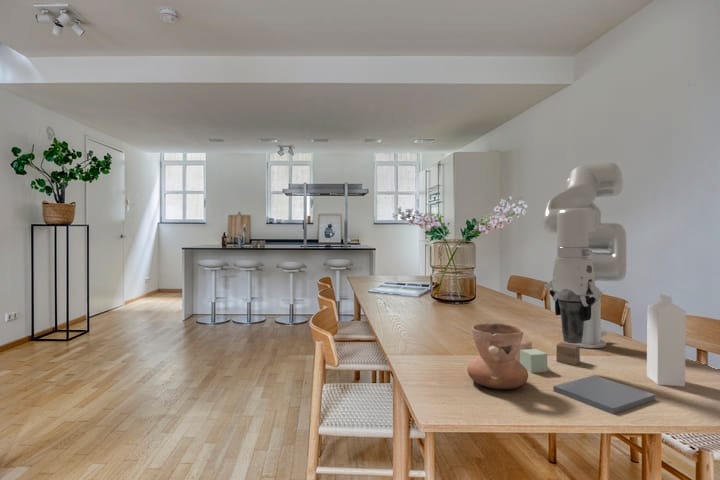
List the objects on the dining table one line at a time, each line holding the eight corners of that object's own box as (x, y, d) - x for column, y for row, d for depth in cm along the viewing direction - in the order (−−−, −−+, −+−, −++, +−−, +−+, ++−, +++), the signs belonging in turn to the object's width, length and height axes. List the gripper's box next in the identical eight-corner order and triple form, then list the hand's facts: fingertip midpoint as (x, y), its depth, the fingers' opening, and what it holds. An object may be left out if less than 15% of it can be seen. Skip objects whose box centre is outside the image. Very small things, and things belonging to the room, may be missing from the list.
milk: (657, 385, 99) (657, 297, 99) (646, 376, 105) (646, 293, 105) (685, 387, 98) (686, 297, 98) (673, 378, 104) (673, 294, 104)
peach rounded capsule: (519, 358, 121) (519, 338, 121) (536, 363, 116) (536, 343, 116) (505, 360, 119) (505, 340, 118) (522, 366, 113) (522, 345, 113)
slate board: (594, 379, 103) (594, 375, 103) (655, 399, 90) (655, 394, 90) (553, 390, 95) (553, 385, 95) (613, 414, 83) (613, 408, 83)
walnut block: (561, 358, 121) (561, 341, 121) (579, 361, 118) (579, 344, 118) (556, 362, 118) (556, 345, 118) (575, 365, 114) (575, 348, 114)
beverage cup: (552, 338, 114) (552, 268, 113) (576, 336, 114) (576, 267, 113) (567, 345, 106) (567, 271, 106) (593, 344, 107) (593, 270, 106)
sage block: (535, 366, 114) (535, 348, 114) (547, 371, 109) (547, 353, 109) (520, 367, 113) (520, 349, 113) (531, 373, 108) (531, 354, 108)
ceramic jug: (526, 401, 89) (526, 338, 89) (461, 390, 95) (461, 332, 95) (529, 376, 106) (529, 322, 106) (473, 368, 112) (473, 318, 112)
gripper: (612, 254, 103) (612, 322, 104) (553, 251, 119) (553, 309, 119) (595, 256, 100) (594, 326, 101) (536, 252, 115) (536, 313, 116)
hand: (572, 316), depth 110 cm, fingers closed on beverage cup, 7 cm apart
